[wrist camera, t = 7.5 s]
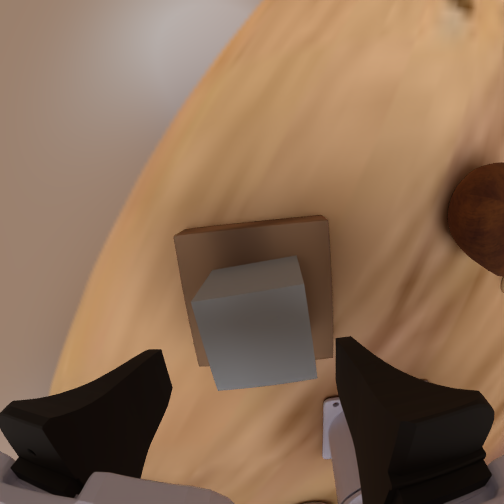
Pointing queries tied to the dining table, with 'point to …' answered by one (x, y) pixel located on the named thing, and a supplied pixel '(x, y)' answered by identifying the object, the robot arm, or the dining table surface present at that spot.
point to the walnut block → (257, 250)
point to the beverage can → (314, 503)
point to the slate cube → (256, 324)
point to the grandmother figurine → (502, 285)
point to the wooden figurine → (480, 216)
